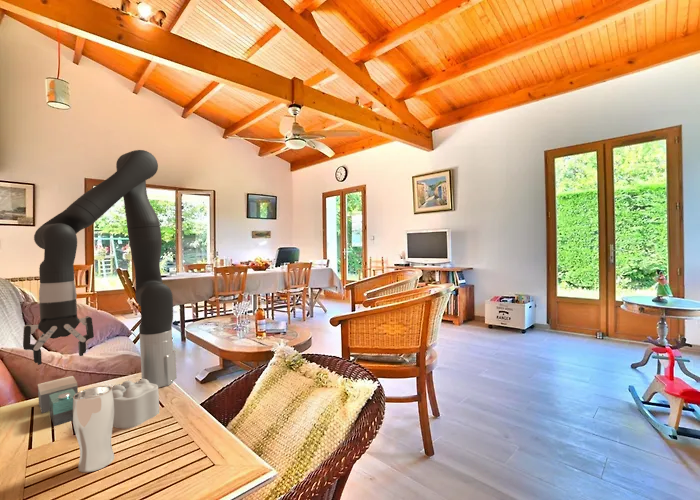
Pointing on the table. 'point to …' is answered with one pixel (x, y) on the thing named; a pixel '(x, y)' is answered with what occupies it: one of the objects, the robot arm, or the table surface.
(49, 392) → the stand
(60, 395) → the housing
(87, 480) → the table surface
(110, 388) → the beer glass
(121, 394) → the lumpy-topped squat cylinder
